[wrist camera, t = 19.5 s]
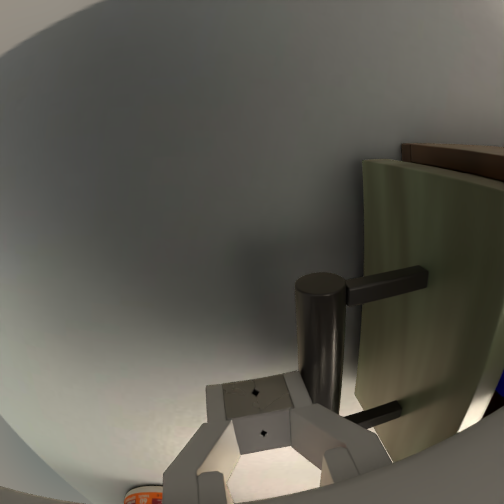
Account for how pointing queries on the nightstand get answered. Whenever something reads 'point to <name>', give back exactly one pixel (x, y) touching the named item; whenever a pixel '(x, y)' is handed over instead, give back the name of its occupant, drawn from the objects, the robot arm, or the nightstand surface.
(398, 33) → the nightstand surface
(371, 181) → the drawer
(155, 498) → the pill bottle
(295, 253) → the nightstand surface
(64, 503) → the robot arm
